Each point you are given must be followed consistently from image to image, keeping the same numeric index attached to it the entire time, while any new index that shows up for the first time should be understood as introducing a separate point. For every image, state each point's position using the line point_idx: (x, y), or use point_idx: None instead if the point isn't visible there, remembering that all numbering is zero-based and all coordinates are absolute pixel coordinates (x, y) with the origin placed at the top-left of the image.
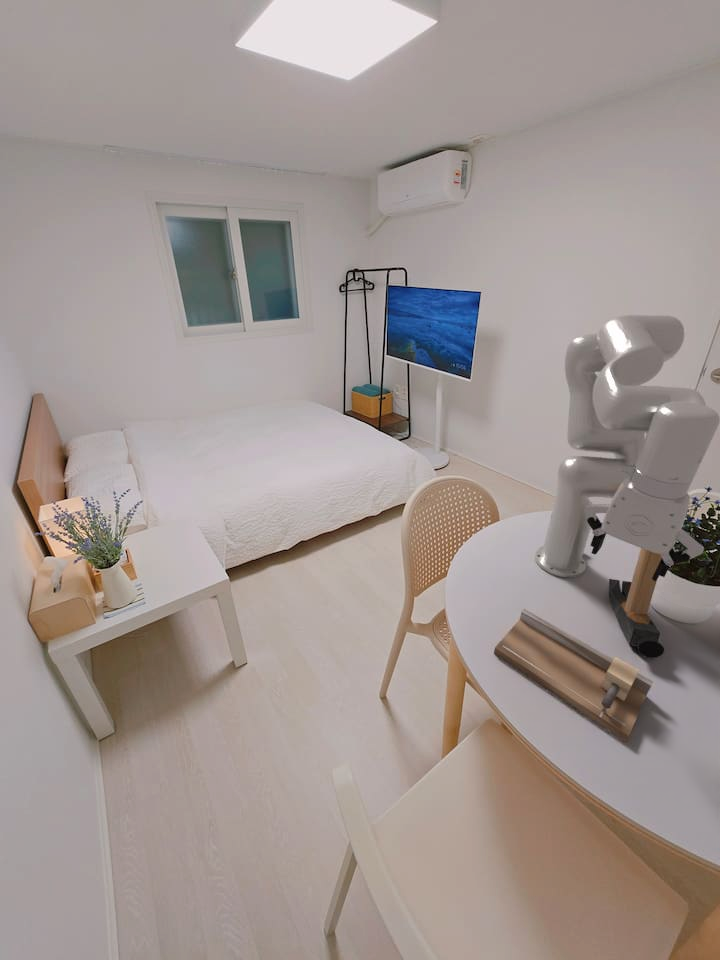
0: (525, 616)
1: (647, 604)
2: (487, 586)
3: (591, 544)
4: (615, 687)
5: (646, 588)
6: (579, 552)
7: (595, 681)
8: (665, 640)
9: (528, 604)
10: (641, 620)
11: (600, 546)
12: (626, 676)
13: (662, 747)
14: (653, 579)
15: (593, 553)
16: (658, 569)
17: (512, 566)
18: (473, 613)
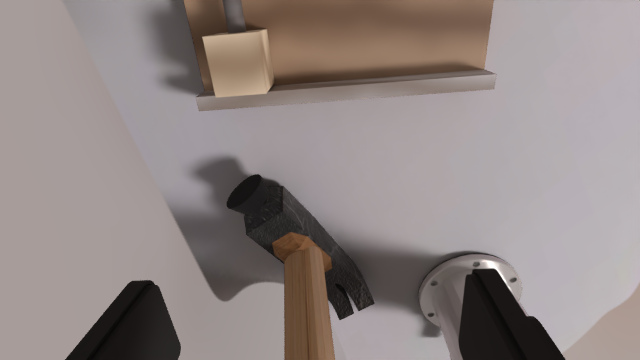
0: (479, 73)
1: (286, 278)
2: (586, 121)
3: (537, 326)
4: (232, 21)
5: (294, 307)
6: (452, 328)
7: (280, 35)
8: (251, 241)
9: (478, 142)
10: (283, 241)
11: (470, 345)
12: (222, 55)
13: (140, 6)
14: (141, 283)
15: (483, 270)
16: (84, 355)
17: (551, 220)
18: (591, 5)
